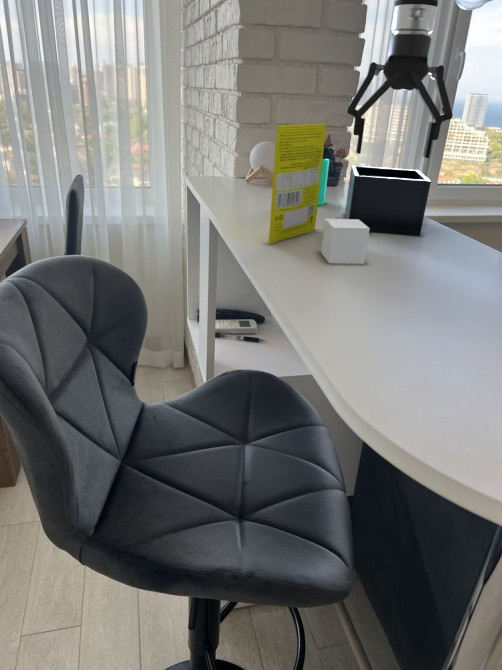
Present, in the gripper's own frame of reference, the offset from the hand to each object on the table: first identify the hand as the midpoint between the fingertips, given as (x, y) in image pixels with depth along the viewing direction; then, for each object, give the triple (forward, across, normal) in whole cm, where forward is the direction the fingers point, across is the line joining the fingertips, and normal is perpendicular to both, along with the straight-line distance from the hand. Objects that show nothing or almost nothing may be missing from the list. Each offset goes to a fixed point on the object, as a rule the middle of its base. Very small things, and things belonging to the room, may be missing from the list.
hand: (391, 155), depth 103 cm
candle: (+14, -15, +18) cm, 28 cm away
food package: (+14, -18, -16) cm, 28 cm away
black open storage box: (+14, 0, 0) cm, 14 cm away
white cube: (+14, -9, -27) cm, 32 cm away
